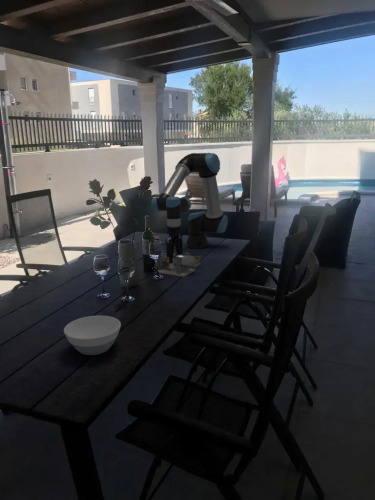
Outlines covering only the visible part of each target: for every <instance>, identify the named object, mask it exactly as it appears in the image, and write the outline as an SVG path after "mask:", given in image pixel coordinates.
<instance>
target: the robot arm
mask: <svg viewBox="0 0 375 500" xmlns="http://www.w3.org/2000/svg"><path fill="white" fill-rule="evenodd" d="M220 170H221V161H220V158H219V156H218V154H216V153H214V152H198V153H197V152H193V153H189V154H186V155H185V156H184V157H182V158H180V160H179V161H178V162H177V164H176V165H175V168H174V171H173V173H172V175H171V177H170V178H169V179H168V181H167V183H166V184H165V185H164V187H163V189H162V191H161V192H160V194H159V196H154V197H153V198H152V199H151V202H150V206H151V209H152V210H153V211H159V212H166V225H167V227H166V230H167V231H166V232H167V234H168V238H166V239H165V243H166V244H165V245H166V249H165V250H166V256H167V257H169V265H170V269H175V267H174V266H175V265H174V257H173V254H175V252H176V254H182V255H183V254H184V247H183V245H184V244H183V237H184V236H183V234H181V233H182V226H181V225H182V218H181V213H185V212H187V211H189V210H190V209H191V207H192V201H191V200H190V198H188V197H179V196H176V194H177V193H178V191H179V189H180V188H181V186H182V184H183V182H184V181H185V179H186V178H187V177H188V176H190V174H192V173H198V177H199V178H200V179H201V180H202V186H203V191H204V199H205V204H206V211H196V212H192V213H189V214H188V218H187V219H188V220H187V222H188V224H187V225H188V237H187V241H186V248H188V249H193V250H198V249H199V250H200V249H207V248H208V247H209V244H210V243H209V241H208V237H207V233H215V234H219V233H220V234H223V233H225V231H226V230H227V227H228V222H229V218H228V216H227V215H225V214H224V211H223V210H222V209H221V203H220V198H219V197H220V196H219V190H218V184H217V175H218V173H220Z"/></svg>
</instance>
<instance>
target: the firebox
mask: <svg viewBox="0 0 375 500" xmlns="http://www.w3.org/2000/svg"><path fill="white" fill-rule="evenodd" d="M162 252H166V249H163V250H162ZM183 255H189V256H191V255H190V252H183ZM153 264H154V263H153ZM157 265H158V272H159V273H158V274H162V275H163V274H165V275H171V276H178V277H183V278H184V277H186V276H188V275H190V274H191V273H192V274H193V272H195V271H196V269H195V268H190V267H188V266H181V257H176V265H174V267H175V269H170V265H169V264H167V263H160V259H158V260H157ZM154 268H155V269H156V267H155V264H154ZM154 271H155V270H154Z"/></svg>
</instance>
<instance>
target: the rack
mask: <svg viewBox="0 0 375 500" xmlns="http://www.w3.org/2000/svg"><path fill="white" fill-rule="evenodd" d="M194 257H195V265H194V266H193V267H190V268H191V269H195V268H196V267H198V266H200V265H201V256H198V255H197V256H194Z"/></svg>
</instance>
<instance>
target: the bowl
mask: <svg viewBox="0 0 375 500" xmlns="http://www.w3.org/2000/svg"><path fill="white" fill-rule="evenodd" d="M121 327H122V325H121V321H120V320H119V319H118V318H115V317H113V316H109V315H91V316H89V315H88V316H84V317H80V318H78V319H75V320H72V321H70V322H69V323H67V325H65V327H64V329H63V333H64V336H65V338H66V339H67V341H68V342H69V343H70V344H71V345H72V346H73V347H74V349H75V350H77V351H78V352H79V353H80V354H82V355H85V356H97V355H100V354H103V353H105V352H107V351H109V349H110V348H111V347H112V346H113V345H114V342H115V341H116V339H117V337H118V335H119V332H120V329H121Z"/></svg>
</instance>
